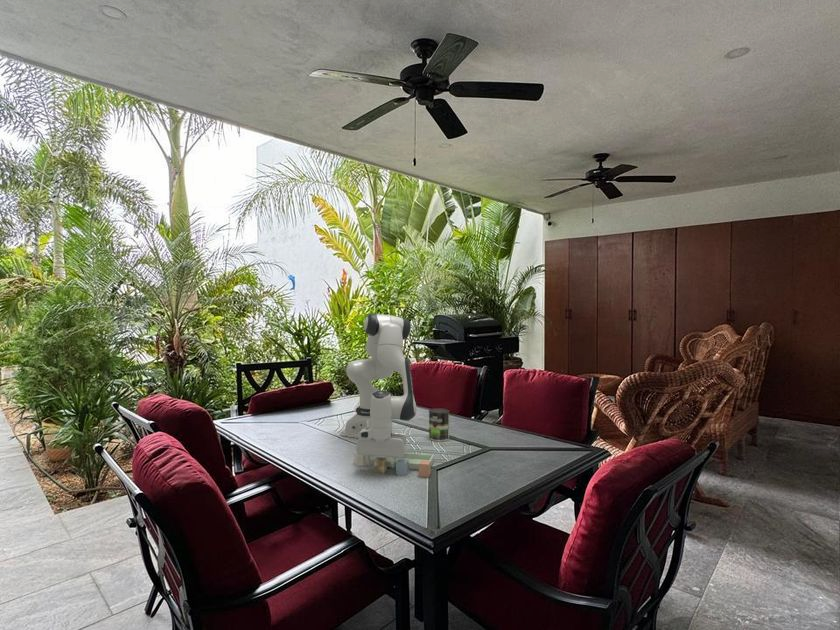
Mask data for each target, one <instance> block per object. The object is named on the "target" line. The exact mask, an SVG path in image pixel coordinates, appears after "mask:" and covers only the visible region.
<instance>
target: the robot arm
mask: <svg viewBox="0 0 840 630" xmlns="http://www.w3.org/2000/svg"><path fill="white" fill-rule="evenodd" d="M409 320H410V319H407V318H405V317H399V316H395V315H391V314H382V313H381V314H380V313H379V314H378V313H368V314H367V315H366V317H365V319H364V322H363V329H364V332H365V334H366V335H368V338H367V342H366V344H365V351H366V354H367V355H368V356H370V357H371V358H363V359H357V360H353V361H350V362H349V363H348V364H347V366H346V376H347V377H348V379H349V380H350V381H351V382H352V383H354V384H355V386H356V387H357V389H358V394H359V395H358V397H359V405H358V406H357V408H355V414H354V415H353V416H352V417H350V418H349V419H348V420H347V421H346V423H345V426H344V429H342V430H341V431H340V434H341V435H340V436H341V437H346V436H347V438H353V437H354V439H357V441H356V446H355V451H356V452H357V454H358V455H365V458H366V460H367V462H368V465H367V467H372V466H373V464H374V462H373V460H372V459H371V460H370V458H369V456H370V455H371V457H373V456H375V457H393V460H394V461H393V462H391V463H390V468H389V469H394V467H395V461H396V460H397V457H399V458H403V457H404V456H405V455H406V453H407V445H406V444H407V436H406V435H405V434H403V433H402V432H401V433H400V432H399V433H397V432H393V421H392V420H397V421H398V420H400V421H406V422H409V421H411V420H412V419H413V418H415V417H416V413H417V403H416V401H415V393H414V385H413V377H412V376H413V375H412V370H411V364H410V361H409V359H407V358H405V355H404V353H403V352H404V351H403V348H404V346H403V345H404V341H403V340H406V339H408V338H409V336H410V333H411V331H412V329H411V326H412V325H411V322H410V321H409ZM394 372H397V373H398V374H399V375H400V376H401V378H402V389H403V395H391V392H390V391H388V390H384V389H383V390H380V389H379V388H378V387H376V386H373V382H372V381H376V380H385V379H387V378H391V377H392V376H393V374H394Z"/></svg>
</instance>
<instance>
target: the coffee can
mask: <svg viewBox="0 0 840 630" xmlns="http://www.w3.org/2000/svg"><path fill="white" fill-rule="evenodd" d="M428 416H429V417H428V418H429V419H428V424H429V425H428V439H429V440H430V441H433V442H446V441H449V440H450V410H449V409H448V408H441V407H440V408H438V407H437V408H431V409H429V410H428Z"/></svg>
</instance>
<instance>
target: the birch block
mask: <svg viewBox="0 0 840 630" xmlns="http://www.w3.org/2000/svg"><path fill="white" fill-rule="evenodd" d="M373 464H374V469H373V470H374V474H385V473H386V472H387V470H388V468H387V458H384V456H376V458H375V459H374V462H373Z"/></svg>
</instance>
